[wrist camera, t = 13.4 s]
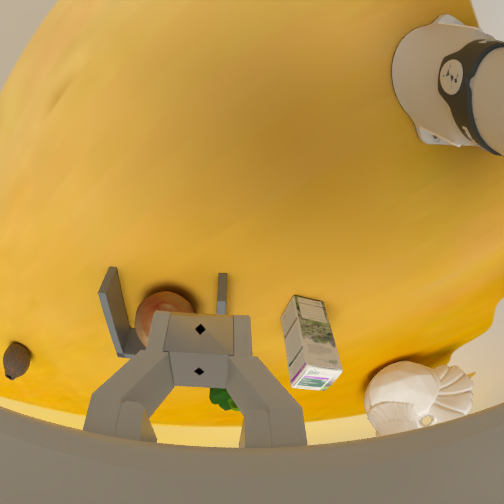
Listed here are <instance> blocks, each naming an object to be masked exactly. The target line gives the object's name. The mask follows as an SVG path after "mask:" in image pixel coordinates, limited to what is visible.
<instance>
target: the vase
mask: <svg viewBox="0 0 504 504" xmlns="http://www.w3.org/2000/svg"><path fill="white" fill-rule="evenodd" d="M3 365H4V369H5V376H6V377H7V378H8V379H10V380H14V379H15V378H17V377H19V376H22V375H23V374H24V373H25V372H26V371H27V370H28V367H29V365H30V354H29V352H28V350H27V349H26V348H25V347H24V346H23V345H21V344H18V343H16V344H12V345H10V346H9V347H8V348H7V349H6V351H5V353H4V356H3Z"/></svg>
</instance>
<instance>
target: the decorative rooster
mask: <svg viewBox="0 0 504 504" xmlns="http://www.w3.org/2000/svg"><path fill="white" fill-rule="evenodd" d="M473 387H474V384H473V381H472V380H470V378H469V376H468V375H467V374H466V375H465V373H464V372H463V371H462V370H461V369H460V368H459V367H458V366H451V367H450V368H449V367H448V366H447V365H440V366H437V367H436V368H434V369H432V368H430V367H427V366H424V365H421V364H418V363H415V362H411V361H399V362H396V363H393V364H390V365H388V366H386V367H385V368H383V369H382V370H380V371H379V372H378V373H377V374H376V375H375V376H374V377H373V379H372V380H371V381H370V383H369V385H368V387H367V389H366V392H365V396H364V406H365V410H366V413H367V416H368V420H369V421H370V423H371V424H372V426H373V427H374V428H375V430H376V437H379V436H385V435H390V434H395V433H400V432H405V431H409V430H414V429H418V428H422V427H427V426H431V425H434V424H436V422H438V423H442V422H446V421H449V420H453V419H456V418H460V417H463V416H465V415H467V413H468V412H469V411H470V409H471V407H472V404H473V402H472V398H473V393H472V390H473ZM426 416H430V417H431V418H432V421H431V422H430V423H429V424H427V425H424V424H423V423H422V419H423V418H424V417H426Z"/></svg>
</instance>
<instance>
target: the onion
mask: <svg viewBox="0 0 504 504" xmlns="http://www.w3.org/2000/svg"><path fill="white" fill-rule="evenodd" d="M156 310H158V311H168V312H182V313H194V314H195V312H194V310H193V308H192V306H191V304H190V303H189V302H188V301H187V300H186V299H185V298H183V297H182V296H180V295H178V294H176V293H173V292H170V291H163V292H158V293H155V294H153V295H151V296H149V297H147V298H146V299H144V300H143V301H142V302H141V304H140V305H139V307H138V309H137V312H136V318H135V329H136V332H137V335H138V337H139V339H140V340H141V342H142V343H143V345H144V346H145V347H146V345H147V341H148V337H149V332H150V328H151V323H152V319H153V315H154V313H155V311H156Z"/></svg>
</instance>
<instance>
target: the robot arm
mask: <svg viewBox="0 0 504 504" xmlns="http://www.w3.org/2000/svg"><path fill="white" fill-rule="evenodd" d="M392 80H393V86H394V90H395V93H396V96H397V98H398V100H399V102H400V104H401V106H402V107H403V109H404V110H405V112H406V113H407V114H408V115H409V116H410V118H411V119H412V120H413V122H414V124H415V127H416V131H417V134H418V136H419V139H420V140H421V141H422V142H424V143H426V144H442V145H454V146H456V147H461V145H464V146H478V147H480V148H482V149H483V150H485V151H489V152H490V153H493V154H495V155H499V156H504V42H502V41H498V40H495V39H494V38H493V37H492V36H490V35H488V34H485V33H483V30H482V29H480V28H477V27H472V26H465V25H464V24H463V23H461V22H460V21H459V20H457V19H456V18H454V17H453V16H451V15H448V14H442V15H440V16H439V17H438V18H437V19H436V20H435V21H434V22H433V23H431V24H429V25H426V26H423V27H419V28H417V29H415V30H413V31H411V32H410V33H408V34H407V35H406V36H405V37H404V38H403V39H402V41H401V42H400V44H399V45H398V47H397V49H396V52H395V55H394V58H393V64H392ZM433 135H435V137H433ZM174 386H192V387H209V388H224V389H226V390H227V392H228V393H229V395H230V396H231V398H232V399H233V401H234V402H235V404H236V405H237V407H238V408H239V410H240V411H241V413H242V414H243V416H244V419H243V424H242V430H241V436H240V441H239V448H220V447H219V448H218V447H199V446H185V445H173V444H163V443H157V438H156V435H155V433H154V430H153V428H152V426H151V423H150V420H149V418H150V416H151V415H152V414H153V413H154V411H155V410H156V409H157V408H158V407H159V405H160V404H161V403H162V402H163V400H164V399H165V398H166V397H167V395H168V394H169V393H170V392H171V391H172V389H173V388H174ZM0 504H504V403H501V404H499V405H496V406H493V407H490V408H487V409H484V410H482V411H479V412H476V413H473V414H469V415H466V416H463V417H460V418H456V419H453V420H449V421H446V422H442V423H438V424H434V425H431V426H427V427H422V428H418V429H414V430H409V431H405V432H400V433H395V434H390V435H385V436H379V437H373V438H367V439H361V440H354V441H347V442H338V443H331V444H319V445H309V446H308V445H307V439H306V431H305V425H304V418H303V411H302V407H301V406H300V405H299V404H298V403H297V402H296V400H295V399H294V398H293V397H292V396H291V395H290V394H289V393H288V391H287V390H286V389H285V388H284V387H283V386H282V385H281V384H280V382H279V381H278V380H277V379H276V378H275V377H274V376H273V374H272V373H271V372H270V371H269V370H268V369H267V367H266V366H265V365H264V364H263V363H262V362H261V360H260V359H259V358H258V357H254V356H252V339H251V321H250V316H248V315H234V316H233V315H218V314H194V313H182V312H168V311H158V310H156V311H155V313H154V315H153V319H152V323H151V328H150V332H149V337H148V341H147V345H146V350H140V351H139V352H138V353H137V354H136V355H135V356H134V357H133V358H131V359H130V360H129V361H128V362H127V363H126V364H125V365H124V366H123V367H121V368H120V369H119V370H118V371H117V372H116V373H115V374H114V375H113V376H111V377H110V378H109V379H108V380H107V381H106V382H105V383H104V384H103V385H101V386H100V387H99V388H98V389H97V390H96V391H95V392H94V393H93V394H92V396H91V400H90V404H89V408H88V411H87V415H86V419H85V424H84V428H83V430H79V429H75V428H70V427H66V426H62V425H58V424H55V423H51V422H47V421H44V420H40V419H37V418H34V417H30V416H27V415H24V414H21V413H18V412H15V411H12V410H9V409H6V408H3V407H0Z"/></svg>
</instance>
